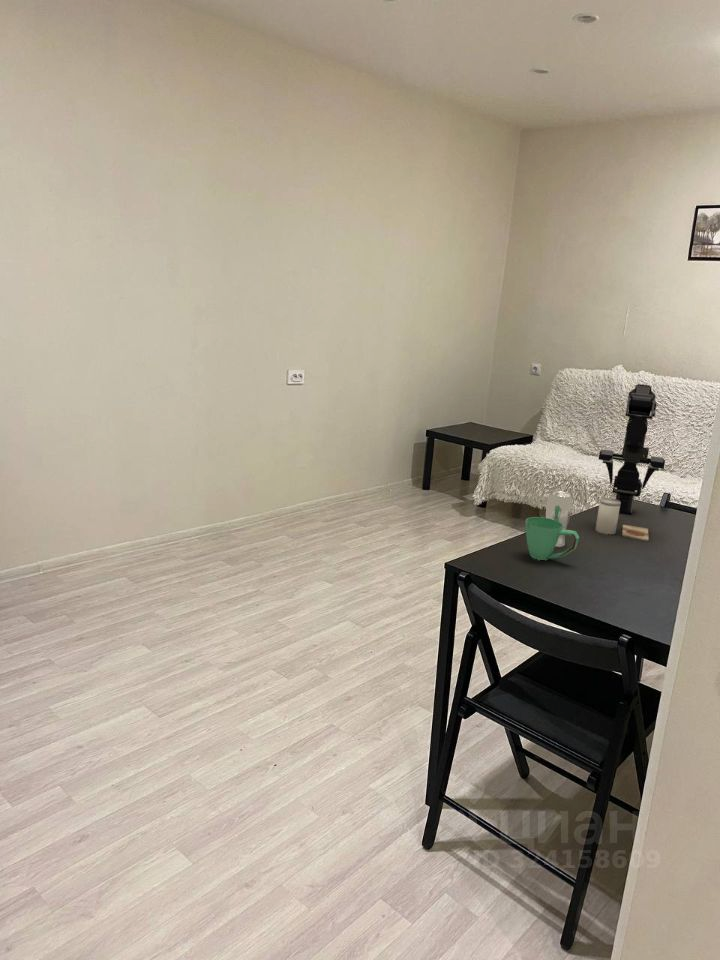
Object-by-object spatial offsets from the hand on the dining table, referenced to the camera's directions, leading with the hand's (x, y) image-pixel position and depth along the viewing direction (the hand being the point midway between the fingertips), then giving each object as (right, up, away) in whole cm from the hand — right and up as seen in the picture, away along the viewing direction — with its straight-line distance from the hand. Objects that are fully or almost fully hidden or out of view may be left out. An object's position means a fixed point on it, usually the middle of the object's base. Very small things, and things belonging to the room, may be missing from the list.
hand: (626, 486), depth 222 cm
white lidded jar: (-5, -14, +4) cm, 15 cm away
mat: (+4, -14, +4) cm, 16 cm away
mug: (-31, -20, -25) cm, 44 cm away
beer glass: (-25, -17, -12) cm, 33 cm away
